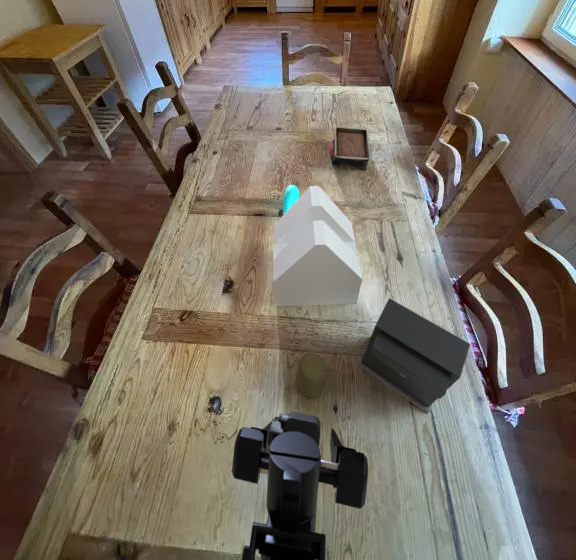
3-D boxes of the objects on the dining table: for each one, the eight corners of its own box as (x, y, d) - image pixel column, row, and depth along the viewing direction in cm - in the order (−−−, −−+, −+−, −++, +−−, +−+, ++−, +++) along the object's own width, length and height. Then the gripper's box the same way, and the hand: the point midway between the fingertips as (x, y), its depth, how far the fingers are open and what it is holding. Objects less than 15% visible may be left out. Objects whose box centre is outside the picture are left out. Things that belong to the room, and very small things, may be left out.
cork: (330, 391, 69) (334, 374, 61) (303, 405, 67) (304, 389, 59) (316, 361, 73) (318, 341, 65) (290, 374, 71) (290, 355, 63)
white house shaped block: (275, 306, 81) (269, 246, 64) (276, 251, 92) (270, 187, 75) (356, 303, 81) (371, 243, 64) (346, 249, 92) (357, 184, 75)
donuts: (289, 200, 106) (288, 177, 99) (321, 204, 104) (323, 181, 97) (282, 225, 99) (281, 202, 92) (316, 230, 97) (318, 207, 90)
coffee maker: (423, 426, 64) (457, 399, 50) (351, 376, 70) (364, 339, 56) (439, 379, 70) (474, 343, 56) (371, 336, 76) (387, 294, 62)
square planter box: (369, 150, 125) (371, 125, 119) (370, 177, 111) (372, 151, 105) (330, 148, 128) (330, 124, 122) (326, 176, 113) (326, 150, 108)
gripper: (378, 466, 40) (366, 387, 55) (225, 432, 43) (255, 366, 58) (368, 562, 40) (359, 456, 55) (215, 522, 42) (248, 431, 58)
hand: (304, 425), depth 57 cm, fingers open, 9 cm apart
